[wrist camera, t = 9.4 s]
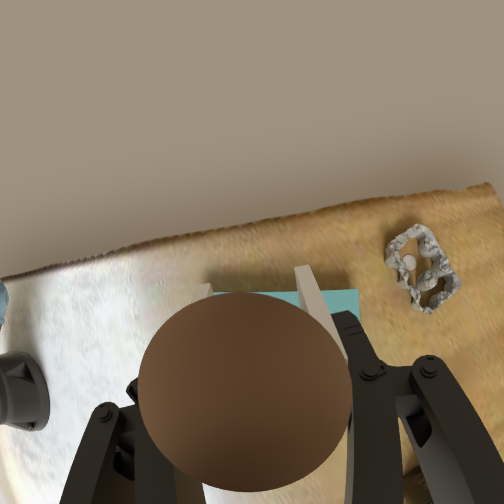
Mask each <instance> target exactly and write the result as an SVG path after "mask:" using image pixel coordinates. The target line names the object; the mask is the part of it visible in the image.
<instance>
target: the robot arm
mask: <svg viewBox="0 0 504 504" xmlns="http://www.w3.org/2000/svg"><path fill="white" fill-rule="evenodd" d="M294 270H295V277H296V284H297V292H298V299H299V307H300V309H302V310H304V311H305V312H307V313H308V314H310V315H311V316H312V317H313V318H315V319H316V320H317V321H318V322H319V323H320V324H321V325H322V326H323V327H324V328H325V329H326V330H327V331H328V332H329V333H330V334H331V336H332V337H333V339H334V340H335V342H336V343H337V344H338V346H339V348H340V350H341V352H342V354H343V356H344V358H345V360H346V363H347V366H348V369H349V373H350V378H351V383H352V406H351V413H350V417H349V421H348V424H347V472H346V489H345V502H344V504H404V492H403V468H402V454H401V443H400V433H399V425H398V417H400V419H401V421H402V424H403V426H404V428H405V430H406V433H407V435H408V437H409V440H410V442H411V445H412V447H413V449H414V452H415V454H416V457H417V459H418V462H419V464H420V467H421V469H422V472H423V475H424V477H425V480H426V483H427V485H428V488H429V491H430V494H431V496H432V499H433V502H434V504H504V463H503V461H502V459H501V457H500V455H499V453H498V451H497V449H496V447H495V445H494V443H493V441H492V439H491V437H490V435H489V434H488V432H487V430H486V428H485V426H484V425H483V423H482V421H481V419H480V418H479V416H478V414H477V412H476V411H475V409H474V407H473V406H472V404H471V402H470V401H469V399H468V398H467V396H466V394H465V393H464V391H463V390H462V388H461V387H460V385H459V383H458V382H457V380H456V379H455V377H454V376H453V374H452V373H451V371H450V370H449V368H448V367H447V366H446V364H445V363H444V362H443V361H442V360H441V359H440V358H439V357H436V356H434V355H425V356H421V357H419V358H418V359H416V360H415V362H414V363H413V365H412V366H401V367H396V366H390V365H387V364H386V363H385V362H383V361H382V360H379V358H378V357H377V355H376V353H375V351H374V349H373V347H372V345H371V343H370V341H369V339H368V337H367V335H366V334H365V333H364V330H363V328H362V326H361V324H360V322H359V320H358V318H357V316H356V315H354V314H353V313H352V312H350V311H349V310H346V311H342V312H337V313H333V314H330V313H329V310H328V308H327V305H326V303H325V301H324V298H323V296H322V294H321V291H320V289H319V287H318V284H317V282H316V280H315V277H314V275H313V273H312V271H311V268H310V266H309V264H308V265H303V266H298V267H294ZM213 295H214V293H213V290H212V287H211V284H210V283H206V284H200V285H196V288H195V291H194V295H193V298H192V301H191V304H192V303H194V302H196V301H198V300H201V299H204V298H207V297H210V296H213ZM8 299H9V298H8V292H7V289H6V287H5V286H4V284H3V283H2V281H1V280H0V330H1V327H2V324H4V316H5V312H6V309H7V305H8ZM126 393H127V394H128V395H129V396H130V398H131V399H132V400H133V401H134V403H135V404H134V405H131V406H127V407H123V408H119V407H118V406H117V405H116V404H115V403H112V402H104V403H102V404H100V405H98V406H97V407H96V408H95V409H94V411H93V413H92V415H91V417H90V420H89V422H88V424H87V427H86V429H85V432H84V434H83V437H82V439H81V442H80V445H79V447H78V450H77V452H76V455H75V458H74V461H73V463H72V466H71V469H70V472H69V475H68V478H67V481H66V484H65V487H64V490H63V493H62V496H61V500H60V503H59V504H206V501H205V496H204V491H203V486H202V482H200V481H197V480H196V479H194V478H192V477H190V476H188V475H187V474H185V473H184V472H182V471H181V470H180V469H178V468H177V467H176V466H174V465H173V464H172V463H171V462H170V461H169V460H168V459H167V458H166V457H165V456H164V455H163V454H162V452H161V451H160V450H159V449H158V448H157V446H156V445H155V443H154V442H153V440H152V438H151V437H150V435H149V433H148V431H147V429H146V427H145V425H144V422H143V419H142V416H141V412H140V407H139V402H138V378H136V379H134V380H133V381H131V383H130V384H129V385H128V386H127V389H126ZM49 412H50V405H49V396H48V391H47V387H46V383H45V380H44V378H43V375H42V373H41V371H40V369H39V367H38V365H37V364H36V362H35V361H34V360H33V358H32V357H31V356H29V355H28V354H26V353H24V352H17V351H11V352H7V353H4V354H1V355H0V425H2V424H4V425H8V426H11V427H14V428H18V429H21V430H25V431H38V430H42V429H43V428H44V427H45V426H46V424H47V422H48V419H49ZM117 446H118V447H117Z"/></svg>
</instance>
